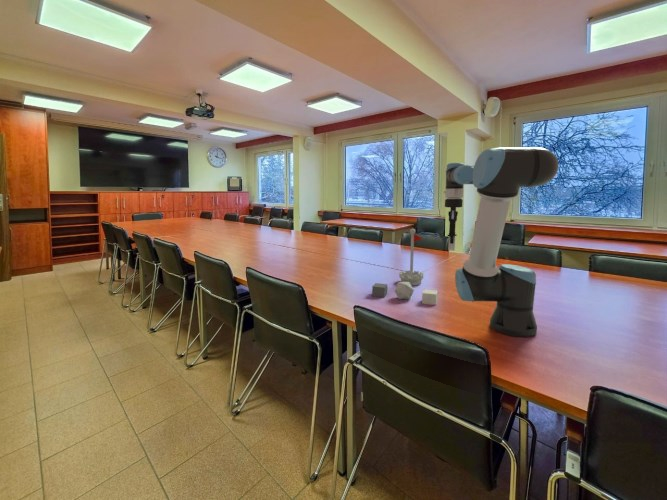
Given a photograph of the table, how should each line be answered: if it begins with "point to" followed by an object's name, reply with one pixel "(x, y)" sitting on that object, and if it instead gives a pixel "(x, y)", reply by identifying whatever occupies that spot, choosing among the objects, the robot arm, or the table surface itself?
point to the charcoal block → (379, 290)
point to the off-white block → (429, 297)
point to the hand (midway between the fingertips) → (451, 250)
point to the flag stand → (409, 275)
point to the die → (404, 290)
